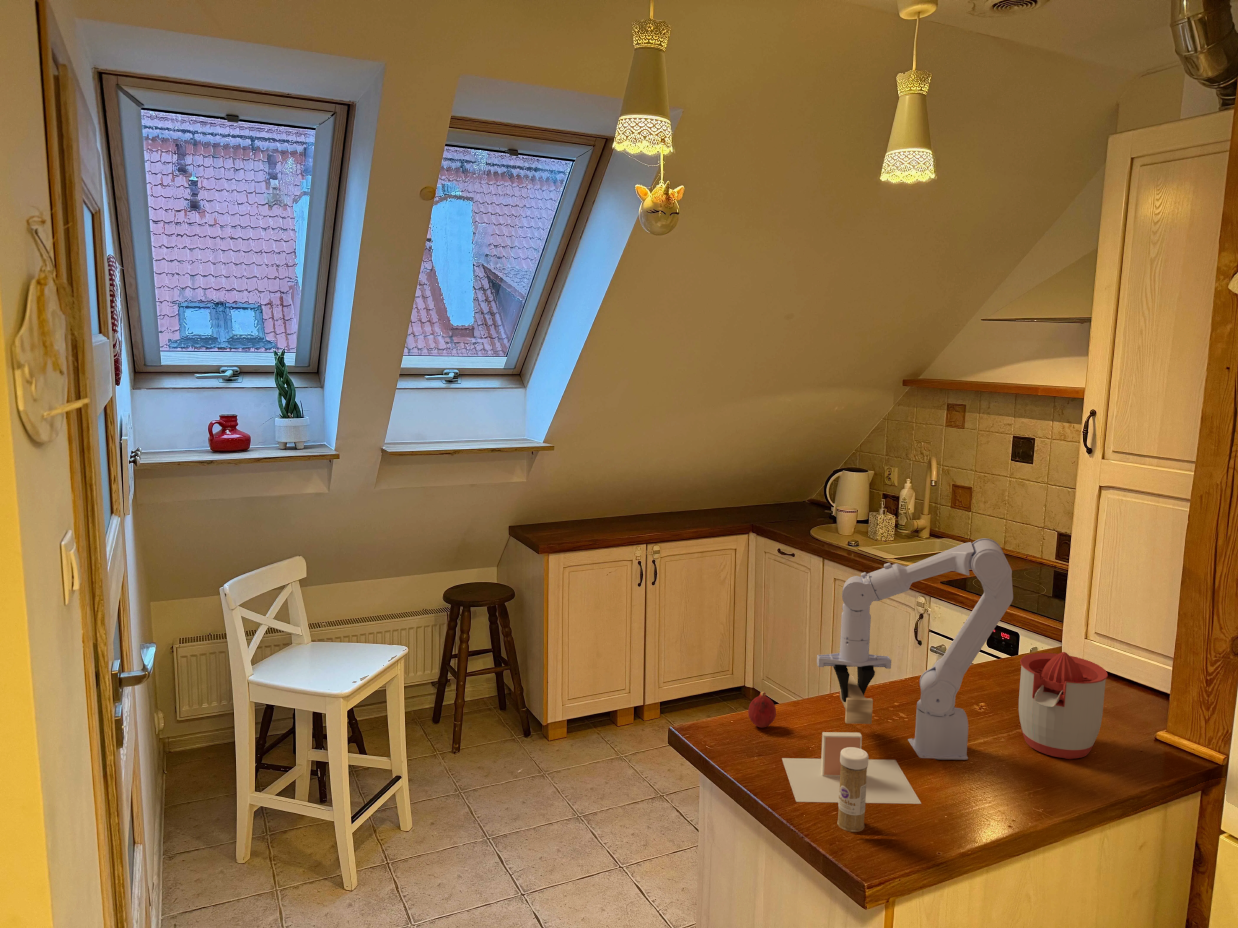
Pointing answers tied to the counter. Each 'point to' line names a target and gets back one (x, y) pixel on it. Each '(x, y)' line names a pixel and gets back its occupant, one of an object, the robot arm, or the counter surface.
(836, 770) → the tile
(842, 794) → the sprinkles bottle
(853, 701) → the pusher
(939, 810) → the counter surface
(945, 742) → the robot arm
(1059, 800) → the counter surface
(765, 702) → the onion
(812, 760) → the mat
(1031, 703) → the citrus juicer
